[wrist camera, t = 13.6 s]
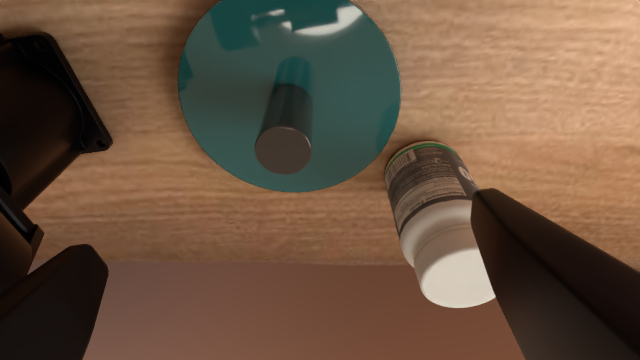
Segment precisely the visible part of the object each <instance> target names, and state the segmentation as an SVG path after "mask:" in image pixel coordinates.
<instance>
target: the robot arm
mask: <svg viewBox="0 0 640 360" xmlns="http://www.w3.org/2000/svg"><path fill="white" fill-rule="evenodd" d="M41 40H42V41H44V42H45V43H46V44H47V48H46V47H45V46H43V44H42V43H41ZM99 139H100V140H102V141H104V143H102V142H101V141H100V140H99ZM112 144H113V141H112V138H111V136H110V135H109V133H108V131H107V129H106V128H105V126H104V124H103V122H102V121H101V119H100V117H99V115H98V114H97V112H96V110H95V108H94V107H93V105H92V103H91V101H90V100H89V98H88V96H87V94H86V93H85V91H84V89H83V87H82V86H81V84H80V82H79V80H78V79H77V77H76V75H75V73H74V72H73V70H72V68H71V66H70V65H69V63H68V61H67V59H66V58H65V56H64V54H63V52H62V51H61V49H60V47H59V45H58V44H57V42H56V40H55V39H54V38H53V37H52V36H51V35H50V34H48V33H45V32H38V33H32V34H27V35H21V36H16V37H10V38H4V36H3V34H1V33H0V360H82V359H83V357H84V354H85V352H86V349H87V346H88V344H89V341H90V338H91V335H92V332H93V328H94V325H95V322H96V318H97V314H98V311H99V307H100V303H101V300H102V296H103V293H104V289H105V286H106V282H107V278H108V267H107V265H106V263H105V262H104V261H103V260H102V258H101V257H100V256H99V255H98V253H97V252H96V251H95V250H94V248H93V247H92V246H90V245H88V244H81V245H73V246H70V247H68V248H66V249H65V250H63V251H62V252H60V253H59V254H57V255H56V256H55V257H53V258H52V259H50V260H49V261H47V262H46V263H44V264H43V265H41V266H40V267H39V268H37V269H36V270H34V271H33V272H31V273H30V274H28V275H27V273H28V271H29V269H30V266H31V264H32V262H33V259H34V257H35V255H36V252H37V250H38V248H39V245H40V243H41V240H42V238H43V236H44V232H43V231H42V230H41V228H40V227H39V226H38V225H37V224H33V223H32V221H31V220H30V219H29V218H28V217H27V215H26V214H25V213H24V212H23V210H24V209H25V208H26V207H27V206H28V205H29V204H30V203H31V202H32V201H33V200H34V199H35V198H36V197H37V196H38V195H39V194H40V193H41V192H43V191H44V190H45V189H46V188H47V187H48V186H49V185H50V184H51V183H52V182H53V181H54V180H55V179H56V178H57V177H58V176H59V175H60V174H61V173H62V172H63V171H64V170H65V169H66V168H67V167H68V166H69V165H70V164H71V163H72V162H73V161H74V160H75V159H76V158H77V157H78V156H79V155H80V154H85V153H92V152H99V151H105V150H108V149H109V148H110V146H111V145H112ZM470 222H471V228H472V231H473V234H474V237H475V240H476V243H477V246H478V249H479V251H480V254H481V257H482V260H483V263H484V266H485V269H486V272H487V275H488V278H489V281H490V284H491V286H492V289H493V292H494V294H495V296H496V298H497V301H498V303H499V305H500V307H501V309H502V311H503V313H504V315H505V318H506V319H507V322H508V324H509V326H510V328H511V330H512V332H513V334H514V336H515V338H516V341H517V343H518V345H519V347H520V349H521V351H522V353H523V355H524V357H525V359H526V360H640V272H639V271H637V270H636V269H634V268H632V267H630V266H629V265H627V264H625V263H623V262H622V261H620V260H618V259H617V258H615V257H613V256H611V255H610V254H608V253H606V252H604V251H603V250H601V249H599V248H597V247H596V246H594V245H592V244H591V243H589V242H587V241H585V240H584V239H582V238H580V237H578V236H577V235H575V234H573V233H571V232H570V231H568V230H566V229H565V228H563V227H561V226H559V225H558V224H556V223H554V222H552V221H551V220H549V219H547V218H546V217H544V216H542V215H540V214H539V213H537V212H535V211H533V210H532V209H530V208H528V207H526V206H525V205H523V204H521V203H520V202H518V201H516V200H514V199H513V198H511V197H509V196H507V195H506V194H504V193H502V192H500V191H499V190H497V189H494V188H489V189H481V190H476V191H475V192H474V193H473V196H472V206H471V217H470Z"/></svg>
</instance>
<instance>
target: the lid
mask: <svg viewBox="0 0 640 360" xmlns="http://www.w3.org/2000/svg"><path fill="white" fill-rule="evenodd" d="M178 93H179V99H180V104H181V109H182V112H183V115H184V117H185V120H186V123H187V125H188V127H189V129H190V131H191V133H192V135H193V136H194V138H195V139H196V141H197V142H198V144H199V145H200V146H201V148H202V149H203V150H204V151H205V152H206V153H207V155H208V156H209V157H210V158H211V159H213V160H214V161H215V162H216V163H217V164H218V165H219V166H221V167H222V168H223V169H225V170H226V171H227V172H229V173H230V174H232V175H234V176H235V177H237V178H239V179H241V180H243V181H245V182H247V183H250V184H252V185H255V186H258V187H261V188H265V189H269V190H274V191H281V192H310V191H315V190H321V189H325V188H328V187H331V186H334V185H337V184H339V183H342V182H344V181H346V180H348V179H349V178H351V177H353V176H355V175H356V174H358V173H359V172H360V171H362V170H363V169H365V168H366V167H367V166H368V165H369V164H370V163H371V162H372V161H373V160H374V159H375V158H376V157H377V156H378V154H379V153H380V152H381V151H382V149H383V148H384V146H385V145H386V143H387V142H388V140H389V138H390V136H391V134H392V132H393V130H394V128H395V125H396V122H397V119H398V115H399V110H400V104H401V81H400V73H399V69H398V65H397V61H396V58H395V56H394V53H393V51H392V48H391V46H390V44H389V42H388V41H387V39H386V37H385V35H384V34H383V32H382V30H381V29H380V28H379V27H378V25H377V24H376V23H375V21H374V20H373V19H372V18H371V17H370V16H369V15H368V14H367V13H366V12H365V11H364V10H363V9H362V8H361V7H360V6H358V5H357V4H355V3H354V2H353V1H351V0H220V1H219V2H217V3H216V4H215V5H214V6H213V7H212V8H211V9H209V10H208V11H207V12H206V13H205V14H204V15H203V16H202V18H201V19H200V20H199V21H198V23H197V24H196V25H195V27H194V28H193V30H192V32H191V33H190V35H189V37H188V39H187V41H186V44H185V46H184V49H183V51H182V55H181V59H180V63H179V70H178Z"/></svg>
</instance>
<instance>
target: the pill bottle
mask: <svg viewBox="0 0 640 360" xmlns="http://www.w3.org/2000/svg"><path fill="white" fill-rule="evenodd" d="M385 185H386V189H387V193H388V197H389V201H390V205H391V209H392V213H393V217H394V220H395V224H396V228H397V233H398V237H399V241H400V245H401V249H402V252H403V254H404V257H405V258H406V260H407V261H408V263H409V264H410V265H411V266H412V267H414V268H415V272H416V275H417V278H418V282H419V285H420V288H421V291H422V293H423V294H424V295H425V296H426V298H427V299H429V300H430V301H432V302H433V303H435V304H438V305H441V306H445V307H451V308H463V307H471V306H475V305H479V304H482V303H485V302H487V301H489V300H492V299H493V298H495V297H496V296H495V294H494V292H493V289H492V286H491V284H490V281H489V278H488V275H487V272H486V269H485V266H484V263H483V260H482V257H481V254H480V251H479V249H478V246H477V243H476V240H475V237H474V234H473V231H472V228H471V222H470V217H471V206H472V196H473V193H474V192H475V191H476V190H480V189H479V188H478V186H477V184H476V183H475V181H474V180H473V178H472V177H471V175H470V173H469V172H468V170H467V168H466V166H465V165H464V163H463V162H462V160H461V158H460V157H459V155H458V154H457V153H456V152H455V151H454V150H453V149H452V148H451V147H449V146H447V145H445V144H443V143H440V142H435V141H422V142H417V143H413V144H411V145H409V146H407V147H404V148H403V149H401V150H400V151H398V152H397V153H396V154H395V155H394V156H393V157H392V159H391V160H390V162H389V163H388V165H387V167H386V170H385Z"/></svg>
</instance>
